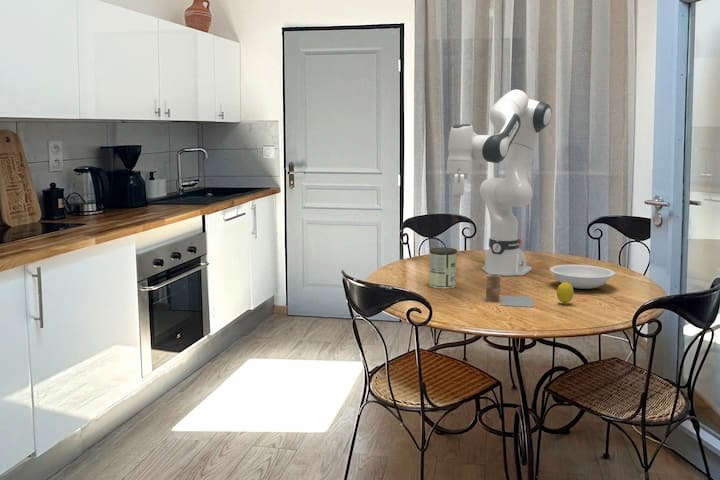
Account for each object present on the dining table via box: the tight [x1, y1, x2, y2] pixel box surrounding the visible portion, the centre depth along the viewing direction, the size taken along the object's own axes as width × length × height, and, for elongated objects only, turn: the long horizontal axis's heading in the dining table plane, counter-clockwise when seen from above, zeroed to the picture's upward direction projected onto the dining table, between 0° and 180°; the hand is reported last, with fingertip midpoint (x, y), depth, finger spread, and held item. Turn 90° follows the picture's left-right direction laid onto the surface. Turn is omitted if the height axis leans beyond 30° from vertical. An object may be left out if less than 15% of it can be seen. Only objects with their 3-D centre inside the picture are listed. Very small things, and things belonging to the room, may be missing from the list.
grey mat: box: [499, 295, 534, 308], centre depth 264 cm, size 11×14×1 cm
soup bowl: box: [549, 264, 616, 290], centre depth 287 cm, size 24×24×7 cm
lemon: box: [556, 282, 574, 305], centre depth 261 cm, size 6×6×8 cm
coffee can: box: [428, 246, 458, 290], centre depth 287 cm, size 10×10×14 cm
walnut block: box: [485, 273, 501, 303], centre depth 266 cm, size 4×4×9 cm
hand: (456, 207), depth 272 cm, fingers open, 8 cm apart
